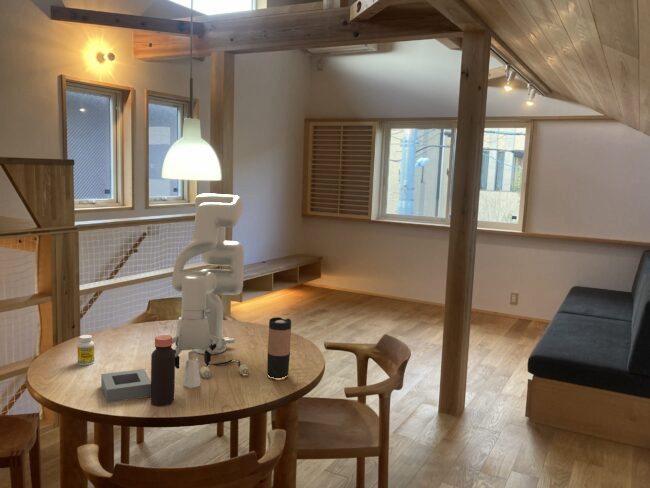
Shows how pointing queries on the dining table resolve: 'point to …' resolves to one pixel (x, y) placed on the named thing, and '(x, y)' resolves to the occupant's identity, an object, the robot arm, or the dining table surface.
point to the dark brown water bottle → (162, 371)
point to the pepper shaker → (192, 371)
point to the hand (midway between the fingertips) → (192, 365)
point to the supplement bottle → (85, 350)
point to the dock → (125, 385)
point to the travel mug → (278, 347)
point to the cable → (206, 372)
